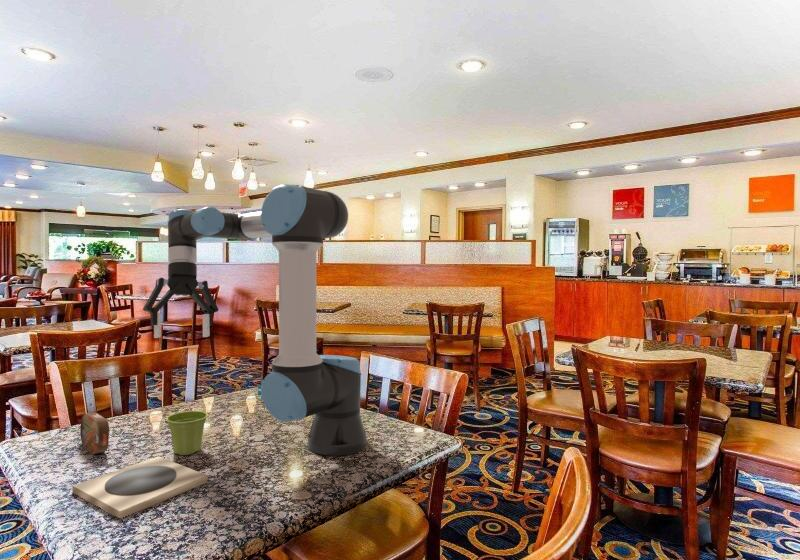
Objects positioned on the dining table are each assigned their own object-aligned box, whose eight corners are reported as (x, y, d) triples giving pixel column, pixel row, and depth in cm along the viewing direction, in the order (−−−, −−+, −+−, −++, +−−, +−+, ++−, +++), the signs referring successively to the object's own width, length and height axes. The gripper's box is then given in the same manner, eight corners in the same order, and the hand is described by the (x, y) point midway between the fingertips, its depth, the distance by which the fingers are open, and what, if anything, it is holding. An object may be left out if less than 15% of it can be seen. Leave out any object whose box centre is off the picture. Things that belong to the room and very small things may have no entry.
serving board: (207, 482, 101) (207, 473, 101) (119, 519, 86) (119, 509, 86) (158, 462, 111) (158, 454, 111) (72, 492, 96) (72, 484, 96)
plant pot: (167, 446, 121) (167, 412, 121) (207, 441, 125) (207, 408, 124) (165, 460, 112) (165, 424, 112) (208, 455, 116) (208, 419, 116)
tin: (79, 442, 123) (78, 410, 123) (93, 439, 125) (93, 407, 125) (96, 459, 113) (96, 423, 112) (111, 455, 115) (111, 420, 115)
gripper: (217, 269, 150) (218, 337, 146) (130, 261, 131) (129, 339, 128) (229, 265, 145) (230, 335, 141) (141, 256, 126) (140, 336, 123)
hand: (182, 337), depth 135 cm, fingers open, 13 cm apart
